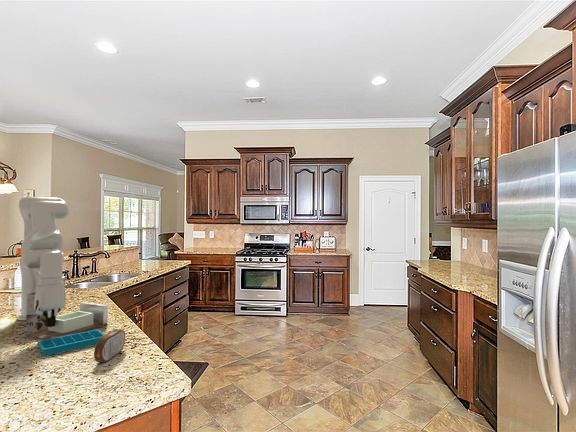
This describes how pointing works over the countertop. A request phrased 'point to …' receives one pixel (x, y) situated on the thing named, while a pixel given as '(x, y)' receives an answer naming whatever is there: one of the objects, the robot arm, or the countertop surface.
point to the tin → (109, 345)
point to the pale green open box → (72, 321)
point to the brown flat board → (51, 334)
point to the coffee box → (34, 316)
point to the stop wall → (96, 311)
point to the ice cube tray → (70, 342)
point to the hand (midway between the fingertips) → (50, 326)
